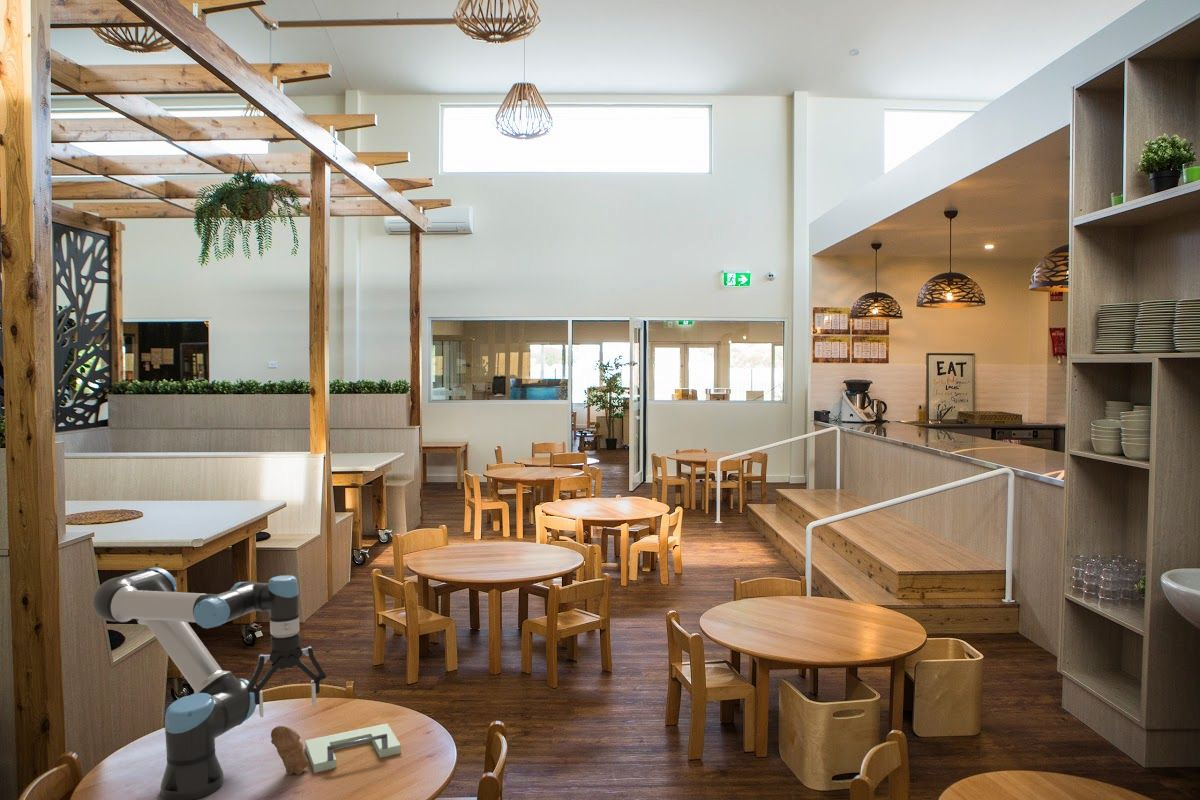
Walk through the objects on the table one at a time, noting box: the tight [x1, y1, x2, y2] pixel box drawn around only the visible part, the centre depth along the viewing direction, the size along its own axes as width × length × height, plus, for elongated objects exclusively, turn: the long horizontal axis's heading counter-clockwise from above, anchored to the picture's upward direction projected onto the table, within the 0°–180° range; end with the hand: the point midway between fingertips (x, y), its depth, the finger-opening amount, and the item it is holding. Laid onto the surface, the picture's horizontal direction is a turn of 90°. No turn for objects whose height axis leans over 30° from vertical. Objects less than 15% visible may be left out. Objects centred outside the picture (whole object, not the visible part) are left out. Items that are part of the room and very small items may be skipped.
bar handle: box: [327, 734, 388, 761], centre depth 237 cm, size 16×1×4 cm, turn 117°
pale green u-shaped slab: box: [304, 722, 402, 774], centre depth 244 cm, size 24×17×2 cm
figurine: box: [270, 725, 311, 775], centre depth 230 cm, size 8×8×15 cm
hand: (288, 710), depth 230 cm, fingers open, 13 cm apart
